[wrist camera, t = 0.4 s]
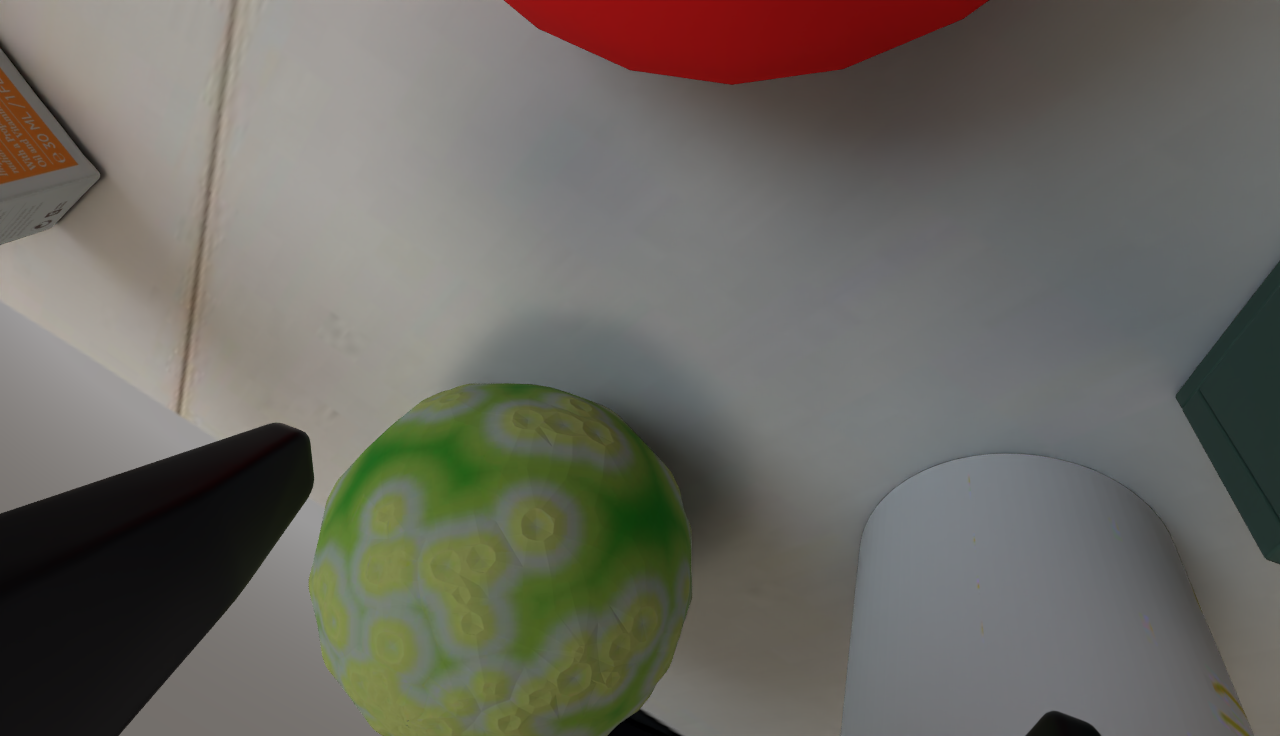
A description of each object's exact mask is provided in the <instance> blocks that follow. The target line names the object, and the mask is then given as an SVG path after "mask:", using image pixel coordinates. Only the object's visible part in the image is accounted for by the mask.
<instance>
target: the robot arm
mask: <svg viewBox="0 0 1280 736" xmlns="http://www.w3.org/2000/svg"><path fill="white" fill-rule="evenodd" d="M313 483H314V473H313V463H312V454H311V445H310V439H309V437H308V435H307V434H306V433H305V432H303V431H301V430H299V429H296V428H293V427H291V426H288V425H285V424H282V423H271V424H267V425H264V426H261V427H258V428H255V429H252V430H249V431H246V432H243V433H240V434H237V435H234V436H231V437H228V438H225V439H222V440H219V441H216V442H214V443H211V444H208V445H205V446H202V447H199V448H196V449H193V450H190V451H187V452H184V453H181V454H178V455H175V456H172V457H169V458H166V459H163V460H160V461H157V462H154V463H151V464H148V465H145V466H142V467H139V468H136V469H133V470H130V471H127V472H124V473H121V474H118V475H115V476H112V477H109V478H106V479H103V480H100V481H97V482H94V483H91V484H88V485H85V486H82V487H79V488H76V489H73V490H70V491H67V492H64V493H61V494H58V495H55V496H52V497H49V498H46V499H43V500H40V501H37V502H34V503H31V504H28V505H25V506H22V507H19V508H16V509H13V510H10V511H7V512H4V513H1V514H0V736H119V735H120V733H121V732H122V731H123V730H124V729H125V728H126V726H127V725H128V724H129V723H130V722H131V721H132V720H133V718H134V717H135V716H136V715H137V714H138V713H139V711H140V710H141V709H142V708H143V707H144V706H145V704H146V703H147V702H148V701H149V700H150V699H151V698H152V696H153V695H154V694H155V693H156V692H157V690H158V689H159V688H160V687H161V686H162V685H163V684H164V682H165V681H166V680H167V679H168V678H169V677H170V675H171V674H172V673H173V672H174V671H175V670H176V668H177V667H178V666H179V665H180V664H181V663H182V662H183V660H184V659H185V658H186V657H187V656H188V655H189V654H190V652H191V651H192V650H193V649H194V647H196V645H197V644H198V643H199V642H200V641H201V640H202V639H203V637H204V636H205V635H206V634H207V633H208V632H209V630H210V629H211V628H212V627H213V626H214V625H215V623H216V622H217V621H218V620H219V619H220V618H221V617H222V615H223V614H224V613H225V612H226V611H227V609H228V608H229V607H230V606H231V604H232V603H233V602H234V601H235V600H236V598H237V597H238V596H239V595H240V593H241V592H242V591H243V589H244V588H245V587H246V585H247V584H248V583H249V581H250V580H251V578H252V577H253V575H254V574H255V573H256V571H257V570H258V568H259V567H260V566H261V564H262V562H263V561H264V560H265V558H266V557H267V556H268V554H269V553H270V551H271V550H272V548H273V547H274V546H275V544H276V543H277V541H278V540H279V538H280V537H281V536H282V534H283V533H284V531H285V530H286V529H287V527H288V526H289V524H290V523H291V521H292V520H293V519H294V517H295V516H296V514H297V513H298V511H299V510H300V509H301V507H302V506H303V504H304V503H305V501H306V500H307V498H308V497H309V495H310V493H311V491H312V488H313ZM607 736H669V735H667V734H664V733H662V732H660V731H658V730H656V729H653V728H651V727H649V726H647V725H645V724H642V723H640V722H638V721H636V720H633V719H631V718H629V717H628V718H626V719H625V720H623V721H622V722H621V723H619V724H618V725H617V726H616V727H615V728H614V729H613V730H612V731H611V732H610V733H609V734H608V735H607ZM1025 736H1101V735H1100V733H1099V732H1098V731H1097V730H1096V729H1095V728H1094V727H1093V726H1092V725H1091V724H1089V723H1088V722H1085V721H1083V720H1080V719H1078V718H1075V717H1072V716H1070V715H1067V714H1064V713H1062V712H1059V711H1050V712H1047V713H1045V714H1044V715H1043V716H1042V717H1041V718H1040V720H1039V721H1038V722H1037V723H1036V724H1035V725H1034V726H1033V728H1032V729H1031V730H1030V731H1029V732H1028V733H1027V734H1026V735H1025Z"/></svg>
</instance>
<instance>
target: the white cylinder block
mask: <svg viewBox="0 0 1280 736" xmlns="http://www.w3.org/2000/svg"><path fill="white" fill-rule="evenodd" d="M1050 711H1059V712H1062V713H1064V714H1067V715H1070V716H1072V717H1075V718H1078V719H1080V720H1083V721H1085V722H1088V723H1089V724H1091V725H1092V726H1093V727H1094V728H1095V729H1096V730H1097V731H1098V732H1099V733H1100V735H1101V736H1254V734H1253V732H1252V729H1251V727H1250V725H1249V722H1248V720H1247V717H1246V715H1245V713H1244V710H1243V708H1242V705H1241V703H1240V701H1239V698H1238V696H1237V693H1236V691H1235V689H1234V686H1233V684H1232V681H1231V679H1230V677H1229V674H1228V672H1227V670H1226V667H1225V665H1224V662H1223V660H1222V658H1221V655H1220V653H1219V650H1218V648H1217V646H1216V643H1215V641H1214V638H1213V636H1212V634H1211V631H1210V629H1209V626H1208V624H1207V622H1206V619H1205V617H1204V615H1203V612H1202V610H1201V607H1200V605H1199V603H1198V600H1197V598H1196V595H1195V593H1194V591H1193V588H1192V586H1191V583H1190V581H1189V579H1188V576H1187V574H1186V571H1185V569H1184V567H1183V564H1182V562H1181V560H1180V557H1179V555H1178V552H1177V550H1176V548H1175V545H1174V543H1173V541H1172V538H1171V536H1170V534H1169V532H1168V530H1167V529H1166V527H1165V525H1164V524H1163V522H1162V521H1161V520H1160V518H1159V517H1158V516H1157V515H1156V513H1155V512H1154V511H1153V510H1152V509H1151V508H1150V507H1149V506H1148V505H1147V504H1146V503H1145V502H1144V501H1143V500H1142V499H1141V498H1139V497H1138V496H1137V495H1136V494H1134V493H1133V492H1132V491H1130V490H1129V489H1127V488H1126V487H1124V486H1123V485H1121V484H1120V483H1118V482H1116V481H1115V480H1113V479H1111V478H1109V477H1107V476H1105V475H1103V474H1101V473H1099V472H1096V471H1094V470H1091V469H1089V468H1086V467H1083V466H1080V465H1078V464H1075V463H1071V462H1067V461H1064V460H1059V459H1055V458H1050V457H1044V456H1037V455H1027V454H987V455H978V456H971V457H966V458H961V459H956V460H952V461H949V462H945V463H942V464H939V465H937V466H934V467H931V468H929V469H926V470H924V471H922V472H920V473H918V474H916V475H914V476H912V477H911V478H909V479H907V480H906V481H904V482H903V483H901V484H900V485H899V486H897V487H896V488H894V489H893V490H892V491H891V492H890V493H889V494H888V495H887V496H886V497H885V498H884V499H883V500H882V501H881V502H880V503H879V504H878V506H877V507H876V508H875V509H874V511H873V513H872V514H871V516H870V517H869V519H868V521H867V523H866V526H865V528H864V531H863V534H862V538H861V542H860V549H859V559H858V569H857V579H856V589H855V599H854V608H853V618H852V628H851V638H850V648H849V658H848V668H847V677H846V687H845V697H844V707H843V717H842V727H841V736H1025V735H1026V734H1027V733H1028V732H1029V731H1030V730H1031V729H1032V728H1033V726H1034V725H1035V724H1036V723H1037V722H1038V721H1039V720H1040V718H1041V717H1042V716H1043V715H1044V714H1045V713H1047V712H1050Z"/></svg>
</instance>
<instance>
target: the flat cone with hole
mask: <svg viewBox="0 0 1280 736" xmlns="http://www.w3.org/2000/svg"><path fill="white" fill-rule="evenodd" d="M504 1H505V2H506V3H508V4H509V5H510V6H511V7H513V8H514V9H515V10H516V11H517V12H519V13H520V14H521V15H522V16H523V17H525V18H526V19H527V20H528V21H530V22H531V23H532V24H533V25H534V26H536V27H537V28H538V29H540V30H543V31H545V32H547V33H549V34H551V35H554V36H556V37H558V38H560V39H562V40H565V41H567V42H569V43H571V44H574V45H576V46H578V47H580V48H582V49H585V50H587V51H589V52H591V53H593V54H596V55H598V56H600V57H602V58H604V59H607V60H609V61H611V62H613V63H615V64H618V65H620V66H622V67H624V68H627V69H629V70H633V71H640V72H647V73H654V74H661V75H668V76H675V77H682V78H689V79H696V80H703V81H710V82H717V83H723V84H730V85H733V84H740V83H748V82H755V81H762V80H769V79H776V78H784V77H791V76H798V75H805V74H812V73H819V72H827V71H834V70H841V69H845V68H847V67H850V66H852V65H854V64H857V63H859V62H862V61H864V60H866V59H869V58H871V57H873V56H876V55H878V54H881V53H883V52H885V51H888V50H890V49H893V48H895V47H897V46H900V45H902V44H904V43H907V42H909V41H912V40H914V39H916V38H919V37H921V36H923V35H926V34H928V33H931V32H933V31H935V30H938V29H940V28H943V27H945V26H947V25H950V24H952V23H954V22H957V21H959V20H962V19H964V18H965V17H967V16H968V15H969V14H971V13H972V12H974V11H975V10H976V9H978V8H979V7H980V6H982V5H983V4H985V3H986V2H987V1H989V0H504Z"/></svg>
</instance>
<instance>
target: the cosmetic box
mask: <svg viewBox="0 0 1280 736" xmlns="http://www.w3.org/2000/svg"><path fill="white" fill-rule="evenodd" d="M99 178H100V173H99V172H98V170H97V169H96V168H95V167H94V166H93V165H92V164H91V162H90V161H89V160H88V159H87V158H86V157H85V156H84V155H83V154H82V152H81V151H80V150H79V148H78V147H77V146H76V145H75V143H74V142H73V141H72V139H71V138H70V137H69V136H68V134H67V133H66V132H65V130H64V129H63V128H62V127H61V125H60V124H59V123H58V122H57V120H56V119H55V118H54V117H53V115H52V114H51V113H50V112H49V110H48V109H47V108H46V106H45V105H44V104H43V103H42V102H41V100H40V99H39V98H38V97H37V95H36V94H35V93H34V91H33V90H32V89H31V87H30V86H29V85H28V84H27V82H26V81H25V80H24V78H23V77H22V76H21V74H20V73H19V72H18V71H17V69H16V68H15V67H14V65H13V64H12V63H11V61H10V60H9V59H8V57H7V56H6V55H5V54H4V52H3V51H2V50H1V48H0V245H1V244H4V243H7V242H10V241H14V240H17V239H20V238H23V237H26V236H29V235H32V234H35V233H38V232H41V231H44V230H47V229H49V228H51V227H52V226H53V225H54V224H55V223H56V222H57V221H58V220H59V219H60V218H61V217H62V216H63V215H64V214H65V213H66V212H67V211H68V210H69V209H70V208H71V207H72V206H73V205H74V204H75V203H76V202H77V201H78V200H79V198H80V197H81V196H82V195H83V194H84V193H85V192H86V191H87V190H88V189H89V188H90V187H91V186H92V185H93V184H94V183H95V182H96V181H97V180H98V179H99Z"/></svg>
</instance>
